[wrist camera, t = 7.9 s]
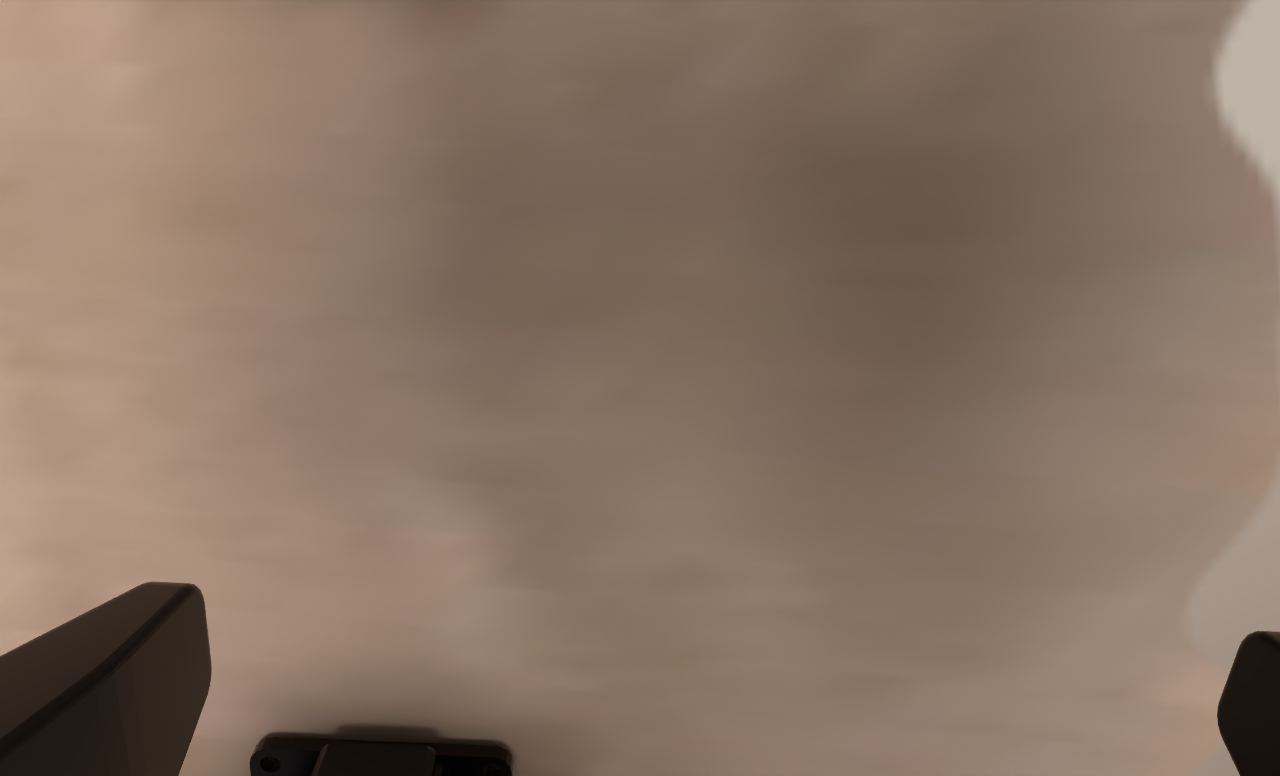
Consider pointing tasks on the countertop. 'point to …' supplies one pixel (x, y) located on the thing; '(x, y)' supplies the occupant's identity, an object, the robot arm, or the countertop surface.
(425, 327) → the countertop surface
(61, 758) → the robot arm
